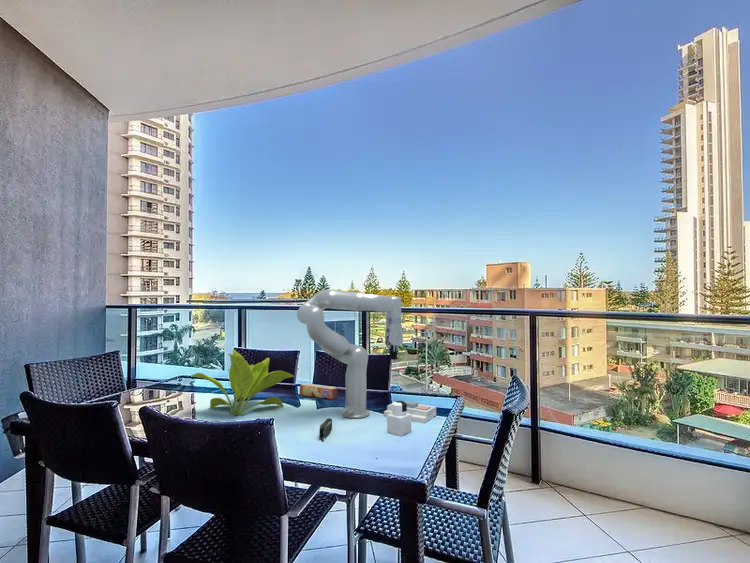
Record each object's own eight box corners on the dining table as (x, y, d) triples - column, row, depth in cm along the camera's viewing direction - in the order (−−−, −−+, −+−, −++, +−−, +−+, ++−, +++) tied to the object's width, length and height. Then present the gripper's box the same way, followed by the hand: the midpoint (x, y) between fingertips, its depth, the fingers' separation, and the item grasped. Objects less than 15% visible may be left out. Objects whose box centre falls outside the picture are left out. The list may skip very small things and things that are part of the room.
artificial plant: (297, 427, 188) (310, 367, 206) (231, 391, 159) (253, 325, 177) (231, 431, 206) (249, 376, 224) (162, 399, 177) (188, 339, 195)
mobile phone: (325, 417, 168) (317, 428, 153) (332, 417, 167) (325, 428, 152) (325, 429, 167) (317, 441, 152) (332, 429, 167) (325, 441, 152)
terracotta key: (425, 414, 180) (425, 409, 180) (417, 412, 182) (416, 408, 182) (430, 411, 183) (430, 407, 183) (421, 410, 186) (421, 405, 186)
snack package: (338, 397, 217) (338, 385, 217) (332, 400, 211) (332, 387, 211) (305, 393, 226) (305, 381, 226) (298, 396, 220) (298, 384, 220)
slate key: (413, 409, 183) (413, 404, 183) (405, 407, 185) (405, 403, 185) (418, 406, 187) (418, 402, 187) (409, 405, 189) (409, 401, 189)
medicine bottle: (397, 427, 168) (397, 398, 168) (411, 431, 164) (411, 401, 164) (386, 432, 163) (386, 402, 163) (401, 436, 158) (401, 405, 158)
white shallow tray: (424, 423, 174) (424, 413, 174) (383, 415, 184) (383, 407, 184) (436, 415, 185) (436, 406, 185) (397, 409, 195) (397, 400, 195)
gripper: (391, 322, 190) (391, 362, 189) (407, 321, 202) (407, 358, 202) (378, 322, 194) (378, 360, 194) (394, 320, 207) (394, 356, 206)
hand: (393, 359), depth 198 cm, fingers closed
